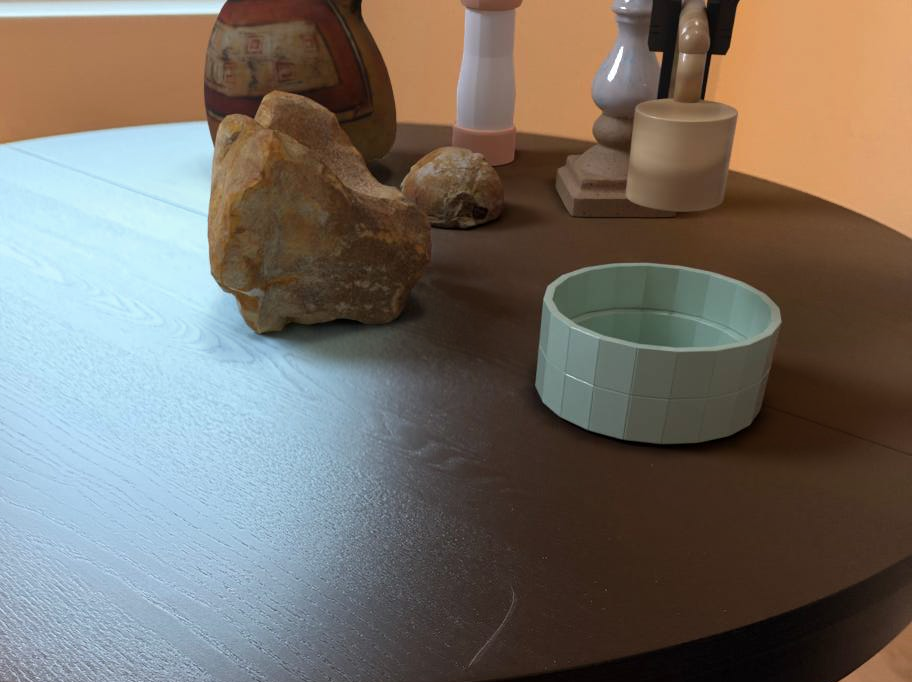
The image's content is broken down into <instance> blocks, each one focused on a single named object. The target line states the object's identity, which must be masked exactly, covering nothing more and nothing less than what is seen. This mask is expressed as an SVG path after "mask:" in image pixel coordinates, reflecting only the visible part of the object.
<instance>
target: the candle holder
mask: <svg viewBox="0 0 912 682" xmlns="http://www.w3.org/2000/svg"><path fill="white" fill-rule="evenodd" d="M652 4H653V0H614V1H613V2H612V3H611V5H610V10H611V11H612V12H613V13H614V21H615V23H616V26H617V36H616V39H615V41H614V43H613V45H612V47H611V49H610V51H609V53H608V54H607V55H606V57H605V58H604V60H603V61H602V63H601V64H600V65H599V67H598V69H597V71H596V72H595V74H594V76H593V78H592V81H591V85H590V95H591V99H592V101H593V103H594V105H595V106H596V107H597V108H598V109H599V110H601V114H600V115H599V116H598V117H597V118H596V120H595V121H594V123H593V125H592V131H591V132H592V136H593V137H594V139H595V141H596V142H597V143H596V144H594V145H593V146H591V147H590V148H588V149H587V150H585V151H584V152H583V153H582V154H581V153H580V154H569V155H568V156H567V157H566V161H565V165H564V166H560V167H558V168H557V170H556V178H555V190H556V192H557V193H558V196H559V197H560V199H561V201H562V203H563V205H564V207H565V208H566V211H567V212H568V213H569V215H570V216H571V217H577V218H579V217H580V218H581V217H583V218H674V217H677V211H664V210H657V209H651V208H647V207H643V206H640V205H638V204H635V203H633V202H631V201H630V200H629V199H628V198H627V197H626V186H627V177H628V168H629V159H630V150H631V142H632V133H633V124H634V115H635V108H636V106H637V105H638V104H640V103H643V102H647V101H651V100H656V99H657V92H658V85H659V78H660V70H661V63H660V62H659V59H658V56H657V54H656V52H649V48H648V35H649V27H650V20H651V12H652Z"/></svg>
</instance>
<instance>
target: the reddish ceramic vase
mask: <svg viewBox="0 0 912 682" xmlns="http://www.w3.org/2000/svg"><path fill="white" fill-rule="evenodd" d="M362 3H363V0H226V1H225V2H224V4H223V6H222V7H221V8H220V10H219V13H218V16H217V17H216V20H215V21H214V23H213V26H212V30H211V31H210V35H209V39H208V42H207V46H206V53H205V62H204V69H203V100H204V109H205V114H206V121H207V126H208V130H209V135H210V138H211V141H212V145H213V149H215V142H216V135H217V131H218V128H219V125H220V123H221V122H222V121H223V119H224V118H225V117H226V116H228V115H232V114H241V115H246V116H248V117H250V118H252V119H254V118H255V116H256V114H257V111H258V109H259V107H260V104H261V102H262V100H263V98H264V96H266V95H267V94H269V93H271V92H273V91H274V90H275V91H281V92H287V93H292V94H296V95H300V96H304V97H306V98H309V99H311V100H313V101H314V102H316V103H318V104H320V105H322V106H323V107H325V108H327V109H328V110H329V111H330V112H332V113H335V115H336V118H337V121H338V123H339V126H340V127H341V128H342V129H343V131H344V132H345V133H346V134H347V135H348V136H349V138H350V140H351V142H352V144H353V146H354V147H355V148H356V149H357V150H358V151H359V152H360V153H361V155H362V157H363V159H364V161H365V164H366V165H368V164H369V163H372V162H373V161H376V160H379V159H383V158H384V157H385V156H386V155H387V154H389V153H390V151H391V150H392V149H393V146H394V144H395V142H396V138H397V130H398V126H397V125H398V124H397V122H398V121H397V107H396V100H395V96H394V95H395V93H394V90H393V85H392V81H391V77H390V74H389V70H388V66H387V64H386V62H385V60H384V56H383V55H382V52H381V51H380V48H379V46H378V44H377V42H376V40H375V38H374V35H373V34H372V33H371V31H370V29H369V27H368V26H367V23H366V22H365V20H364V17H363V14H362V13H363V11H362Z"/></svg>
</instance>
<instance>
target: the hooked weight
mask: <svg viewBox="0 0 912 682" xmlns="http://www.w3.org/2000/svg"><path fill="white" fill-rule="evenodd" d="M706 6H707V2H706V0H682V5H681V12H680V16H679V26H678V33H677V39H676V46H675V53H674V60H673V67H672V74H671V81H670V88H669V95H668V99H658V100H651V101H647V102H643V103H640V104H638V105H637V106H636V108H635V115H634V124H633V133H632V142H631V150H630V159H629V168H628V177H627V186H626V197H627V198H628V199H629V200H630V201H631V202H633V203H635V204H638V205H640V206H643V207H647V208H651V209H657V210H664V211H677V212H679V213H684V212H685V213H686V212H687V213H689V212H700V211H706V210H711V209H715V208H717V207H719V206H720V205H722V204H723V202H724V199H725V194H726V193H725V192H726V188H727V182H728V181H727V180H728V176H729V170H730V164H731V158H732V152H733V146H734V140H735V133H736V128H737V123H738V116H739V111H738V109H737V108H735V107H733V106H731V105H729V104H725V103H722V102H718V101H712V100H706V99H704V100H700V96H701V89H702V82H703V75H704V69H705V62H706V55H707V51H708V49H709V46H710V37H709V28H708V20H707V12H706ZM677 212H676V213H677Z"/></svg>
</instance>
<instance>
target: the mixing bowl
mask: <svg viewBox="0 0 912 682" xmlns="http://www.w3.org/2000/svg"><path fill="white" fill-rule="evenodd" d="M541 309H542V311H541V320H540V321H541V322H540V332H539V342H538V354H537V363H536V365H537V366H536V375H535V384H534V385H535V388H536V391H537V393H538V396H539V398H540V400H541V402H542V403H543V404H544V405H545V406H546V407H547V408H549V409H550V410H551V411H552V412H553V413H554V414H555V415H557V416H558V417H559V418H561V419H563V420H565V421H568V422H569V423H572V424H574V425H575V426H578V427H580V428H582V429H584V430H586V431H589V432H592V433H596V434H599V435H604V436H607V437H610V438H614V439H619V440H622V441H623V440H624V441H631V442H639V443H648V444H657V445H676V444H677V445H679V444H698V443H699V444H700V443H704V442H708V441H712V440H717V439H721V438H726V437H727V438H728V437H730V436H732V435H734V434H736V433H738V432H740V431H741V430H743V429H746V428H747V427H749V426H751V425H752V423H753V421H754V420H755V419H756V417H757V416H758V414H759V413H760V411H761V409H762V405H763V401H764V397H765V392H766V388H767V384H768V380H769V376H770V372H771V367H772V364H773V359H774V355H775V351H776V347H777V343H778V339H779V335H780V331H781V327H782V323H783V322H782V316H781V310H780V307H779V306H778V304H776V303H775V302H774V301H773V300H772V299H771V298H770V297H769V296H768V295H767V294H766V293H765V292H763V291H761V290H759V289H757V288H755V287H753V286H752V285H750V284H748V283H746V282H744V281H741V280H738V279H735V278H732V277H729V276H726V275H723V274H721V273H717V272H714V271H709V270H704V269H700V268H694V267H690V266H683V265H677V264H676V265H675V264H665V263H653V262H621V263H620V262H618V263H617V262H616V263H608V264H600V265H593V266H586V267H582V268H580V269H576V270H574V271H571V272H567V273H565V274H562V275H560V276H559V277H558V278H556V279H555V280H553V281H552V282H551V283H550V284H548V285H547V287H546V290H545V293H544V296H543V299H542V308H541Z"/></svg>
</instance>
